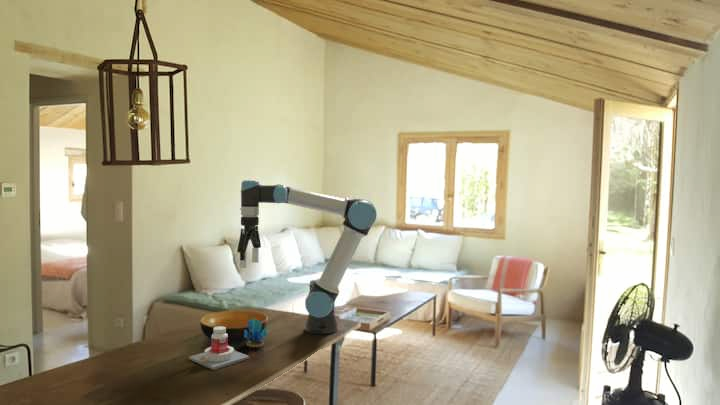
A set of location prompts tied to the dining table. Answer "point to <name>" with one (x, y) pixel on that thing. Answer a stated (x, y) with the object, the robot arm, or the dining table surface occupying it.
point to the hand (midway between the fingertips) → (249, 265)
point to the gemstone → (255, 333)
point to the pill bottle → (219, 340)
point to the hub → (218, 358)
